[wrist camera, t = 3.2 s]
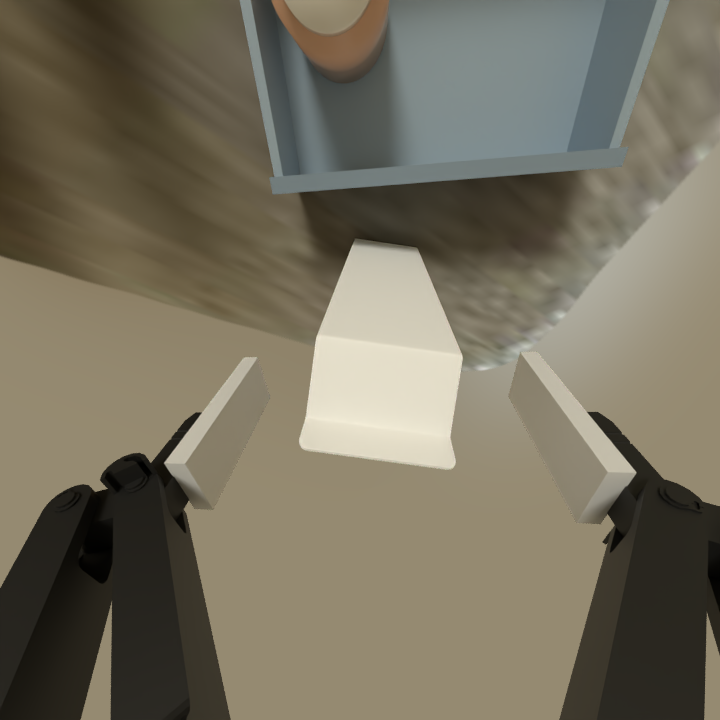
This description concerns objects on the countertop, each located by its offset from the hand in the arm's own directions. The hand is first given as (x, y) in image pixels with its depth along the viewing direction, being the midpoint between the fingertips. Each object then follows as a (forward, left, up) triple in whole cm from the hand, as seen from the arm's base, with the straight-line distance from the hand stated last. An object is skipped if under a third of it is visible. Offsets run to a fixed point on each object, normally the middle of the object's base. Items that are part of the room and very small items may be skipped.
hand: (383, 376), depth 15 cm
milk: (0, 0, -17) cm, 17 cm away
